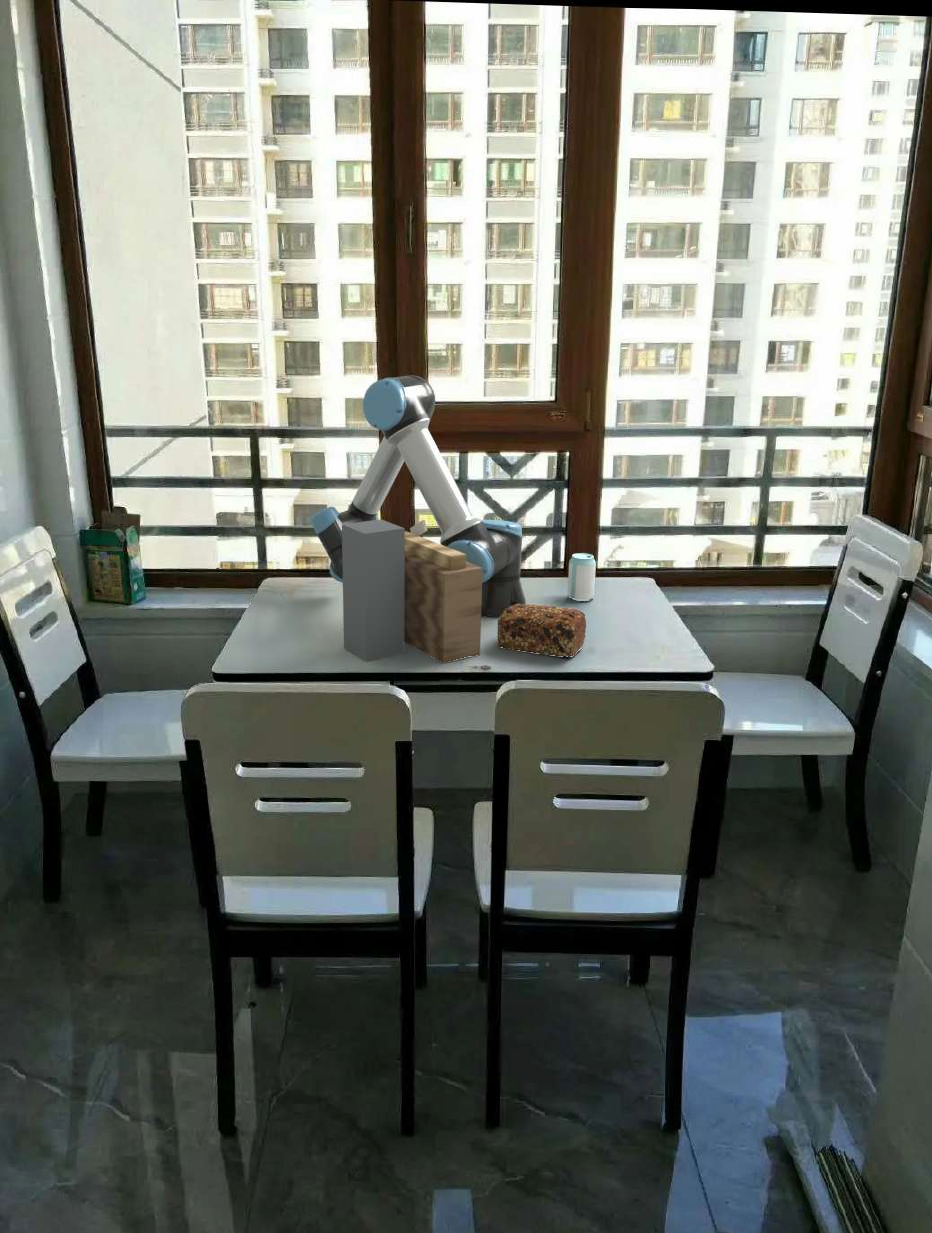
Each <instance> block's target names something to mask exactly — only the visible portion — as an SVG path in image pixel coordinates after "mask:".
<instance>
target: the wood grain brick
mask: <svg viewBox="0 0 932 1233" xmlns="http://www.w3.org/2000/svg"><path fill="white" fill-rule="evenodd" d="M482 570H483V568H481V567H479V566H476V565H474V564H471V563H469V562H466V568H461V569H455V570H450V569H447V568H445V567H442V566H440V565H438V564H435V563H433V562H430V561H428V560H426V559H423V558H421V557H418V556H416V555H413V554H411V553H409V552H406V551H405V560H404V644H407V645H409V646H411V647H412V648H414V647H415V649H416V650H418V651H419V652H421V653H424V654H425V655H427V656H429V657H431V656H432V657H431V658H433V657H434V658H435V659H434V658H433V659H434V660H436V659H437V661H438V660H439V661H438V662H440V661H441V662H440V663H442V662H443V663H442V664H446V663H445V662H448V663H450V662H449V661H452V662H454V661H453V660H456V659H460V658H464V657H468V656H474V657H477V656H476V655H478V656H481V633H482V632H481V629H482V615H481V603H482ZM456 661H457V660H456Z"/></svg>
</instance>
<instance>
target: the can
mask: <svg viewBox="0 0 932 1233" xmlns="http://www.w3.org/2000/svg"><path fill="white" fill-rule="evenodd" d="M594 557H595V556H594V555H593V554H590V553H585V552H581V553H573V554H572V555H571V558H570V559H569V561H568V578H567V580H568V581H567V595H568V596H569V597H571V598H575V599H588V598H591V597H593V596H595V581H596V580H595V579H596V566H597V562H596V560H595V558H594ZM568 596H567V597H568ZM569 597H568V598H569Z"/></svg>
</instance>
